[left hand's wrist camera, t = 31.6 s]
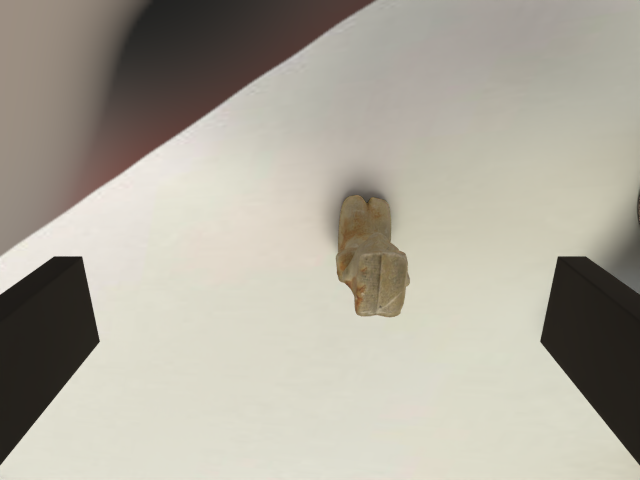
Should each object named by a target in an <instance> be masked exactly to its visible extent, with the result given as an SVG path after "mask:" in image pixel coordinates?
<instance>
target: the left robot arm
mask: <svg viewBox="0 0 640 480" xmlns="http://www.w3.org/2000/svg"><path fill="white" fill-rule="evenodd" d="M638 214H639V222H640V197H639V205H638ZM99 342H100V341H99V336H98V331H97V326H96V321H95V317H94V312H93V307H92V302H91V297H90V292H89V288H88V283H87V278H86V273H85V268H84V264H83V259H82V257H53V258H51V259H50V260H49V261H47V262H46V263H44V264H43V265H42V266H40V267H39V268H37V269H36V270H35V271H33V272H32V273H30V274H29V275H28V276H26V277H25V278H23V279H22V280H20V281H19V282H18V283H16V284H15V285H13V286H12V287H11V288H9V289H8V290H6V291H5V292H4V293H2V294H1V295H0V465H1V464H2V462H3V461H4V460H5V459H6V457H7V456H8V455H9V454H10V452H11V451H12V450H13V449H14V448H15V446H16V445H17V444H18V443H19V441H20V440H21V439H22V438H23V436H24V435H25V434H26V433H27V431H28V430H29V429H30V428H31V426H32V425H33V424H34V423H35V421H36V420H37V419H38V418H39V416H40V415H41V414H42V413H43V412H44V410H45V409H46V408H47V407H48V405H49V404H50V403H51V402H52V400H53V399H54V398H55V397H56V395H57V394H58V393H59V392H60V390H61V389H62V388H63V387H64V385H65V384H66V383H67V382H68V380H69V379H70V378H71V377H72V375H73V374H74V373H75V372H76V371H77V369H78V368H79V367H80V366H81V364H82V363H83V362H84V361H85V359H86V358H87V357H88V356H89V354H90V353H91V352H92V351H93V349H94V348H95V347H96V346H97V344H98V343H99ZM540 342H541V343H542V344H543V346H544V347H545V348H546V349H547V351H548V352H549V353H550V354H551V356H552V357H553V358H554V359H555V361H556V362H557V363H558V364H559V366H560V367H561V368H562V369H563V371H564V372H565V373H566V374H567V375H568V377H569V378H570V379H571V380H572V382H573V383H574V384H575V385H576V387H577V388H578V389H579V390H580V392H581V393H582V394H583V395H584V397H585V398H586V399H587V400H588V402H589V403H590V404H591V405H592V407H593V408H594V409H595V410H596V412H597V413H598V414H599V415H600V416H601V418H602V419H603V420H604V421H605V423H606V424H607V425H608V426H609V428H610V429H611V430H612V431H613V433H614V434H615V435H616V436H617V438H618V439H619V440H620V441H621V443H622V444H623V445H624V446H625V448H626V449H627V450H628V451H629V452H630V454H631V455H632V456H633V457H634V459H635V460H636V461H637V462H638V464H639V465H640V295H639V294H638V293H636V292H635V291H634V290H632V289H631V288H629V287H628V286H627V285H625V284H624V283H622V282H621V281H620V280H618V279H617V278H615V277H614V276H612V275H611V274H610V273H608V272H607V271H605V270H604V269H603V268H601V267H600V266H598V265H597V264H596V263H594V262H593V261H591V260H590V259H589V258H587V257H558V259H557V264H556V268H555V273H554V278H553V283H552V288H551V292H550V297H549V302H548V307H547V312H546V317H545V321H544V326H543V331H542V336H541V341H540Z"/></svg>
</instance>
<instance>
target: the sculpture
mask: <svg viewBox="0 0 640 480" xmlns="http://www.w3.org/2000/svg"><path fill="white" fill-rule="evenodd" d="M390 241H391V215H390V207H389V204H388V203H387V202H386V201H385V200H382V199H378V198H375V197H372V198H370V200H369V201H368V203H366V202H365V201H364V199H363V198H362V197H361V196H358V195H354V196H350V197H347V198H346V199H345V201H344V202H343V205H342V208H341V213H340V222H339V237H338V254H337V256H336V264H337V275H338V278H339V281H341V282H343V283H345V284H346V285H348V287H349V288H350V289H351V290H352V292H353V294H354V297H355V311H356V313H357V315H359V316H373V315H380V316H384V317H395V316H398V315H399V314H400V311H401V309H402V306H403V304H404V298H405V290H406V286H408V285H409V283H410V278H409V275H408V272H407V271H408V267H407V266H408V262H407V257H406V254H405V253H404V252H401V251H399V250H398V248H397V247H396V246H394V245H393V244H392V243H390Z"/></svg>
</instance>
